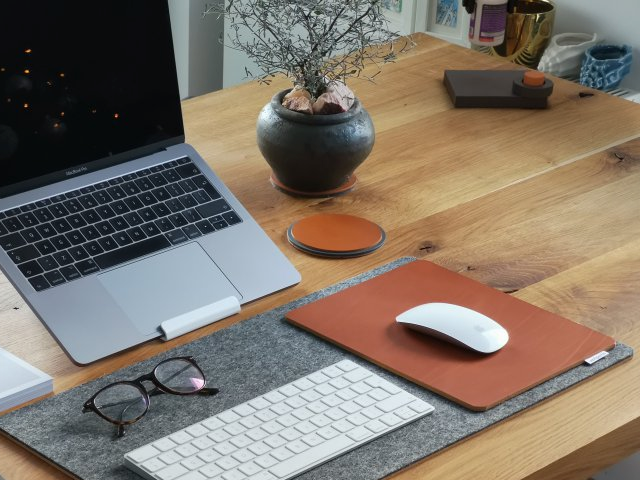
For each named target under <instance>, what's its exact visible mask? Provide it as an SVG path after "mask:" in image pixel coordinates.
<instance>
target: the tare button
mask: <svg viewBox="0 0 640 480" xmlns="http://www.w3.org/2000/svg"><path fill="white" fill-rule="evenodd" d="M544 77H545V73H544V72H541V71H537V70H531V71H528V72H525V74H524V81H523V83H524V84H526V85H531V86H540V85H543V83H544Z"/></svg>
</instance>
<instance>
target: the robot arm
mask: <svg viewBox="0 0 640 480" xmlns="http://www.w3.org/2000/svg"><path fill="white" fill-rule="evenodd" d="M518 5H519V0H508V7H507V14H509V15H514V12H515V11H514V10H515V8H518ZM461 6H462V7H463V8H465V12H466V14H468V15H471V14H472V13H473V9H474V0H461Z"/></svg>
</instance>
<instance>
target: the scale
mask: <svg viewBox="0 0 640 480" xmlns="http://www.w3.org/2000/svg"><path fill="white" fill-rule="evenodd" d="M443 70H444V71H443V83H444V86H445V88H446V90H447V93H448V95H449V97H450V100H451V102H452V104H453V106H454V108H457V109H458V108H462V109H463V108H465V109H467V108H469V109H470V108H471V109H472V108H473V109H477V108H478V109H489V108H490V109H499V108H500V109H502V108H503V109H509V108H510V109H546V108H547V105H548V99H549V97H551V96H552V94H553V92H554V87H555V86H554V85H555V83H554V82H553V80H552V79H550V78H548V77H545V76H544V83H543V85H540V86H531V85H526V84H524V83H523V81H524V74H525V72H528V71H532V69H443Z"/></svg>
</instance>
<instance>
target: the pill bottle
mask: <svg viewBox="0 0 640 480" xmlns="http://www.w3.org/2000/svg"><path fill="white" fill-rule="evenodd" d="M507 7H508V0H474V9H473V13H472V14H470V15H469V16H470V17H469V26H468V37H467V38H468V42H469V43H471V44H473V45H476V46H480V47H481V46H482V47H497V46H499V45H501V44H503V43H504V39H505V31H506V23H507V14H508V12H507Z"/></svg>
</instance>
